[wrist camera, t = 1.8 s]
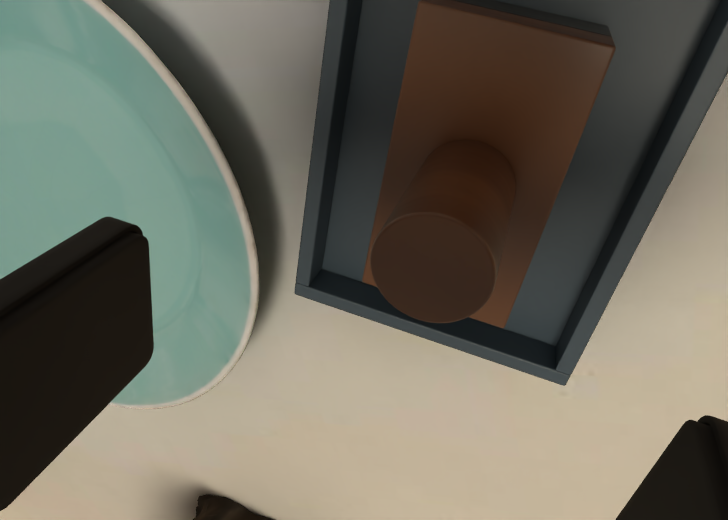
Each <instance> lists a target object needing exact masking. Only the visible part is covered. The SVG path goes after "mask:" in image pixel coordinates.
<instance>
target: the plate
mask: <svg viewBox="0 0 728 520" xmlns="http://www.w3.org/2000/svg"><path fill="white" fill-rule="evenodd" d="M104 217H113V218H116V219H119V220H122V221H125V222H128V223H131V224H134V225H137V226H138V227H140V229H141V230H142V233H143V236H144V237H146V238H147V240H148V243H149V257H150V277H151V298H152V318H153V338H154V350H153V354H152V357H151V359H150V361H149V362H148V364H147V365H146V366H145V367H144V368H143V369H142V371H141V372H140V373H139V374H138V375H137V376H136V377H135V378H134V379H133V380H132V381H131V382H130V383H129V384H128V385H127V386H126V387H125V388H124V389H123V390H122V391H121V392H120V393H119V394H118V395H117V396H116V397H115V398H114V399H113V400H112V401H111V402H110V403H109V404H108V405H112V406H118V407H125V408H134V409H158V408H166V407H170V406H175V405H179V404H183V403H185V402H188V401H191V400H193V399H195V398H197V397H199V396H201V395H203V394H205V393H206V392H208V391H209V390H211V389H212V388H213V387H215V386H216V385H217V384H218V383H219V382H221V381H222V380H223V379H224V378H225V377H226V376H227V374H228V373H229V372H230V371H231V370H232V369H233V367H234V366H235V364H236V363H237V362H238V360H239V359H240V357H241V355H242V354H243V352H244V350H245V348H246V346H247V343H248V341H249V338H250V336H251V333H252V330H253V326H254V323H255V319H256V315H257V310H258V302H259V291H260V286H259V263H258V255H257V248H256V243H255V239H254V234H253V229H252V226H251V222H250V218H249V215H248V211H247V208H246V205H245V202H244V199H243V197H242V194H241V191H240V188H239V186H238V183H237V181H236V179H235V176H234V174H233V172H232V170H231V168H230V165H229V163H228V161H227V159H226V157H225V155H224V153H223V151H222V150H221V148H220V146H219V144H218V142H217V140H216V138H215V137H214V135H213V133H212V132H211V130H210V128H209V127H208V125H207V123H206V122H205V120H204V118H203V117H202V115H201V114H200V112H199V111H198V109H197V108H196V106H195V105H194V103H193V102H192V100H191V99H190V97H189V96H188V95H187V93H186V92H185V90H184V89H183V88H182V86H181V85H180V84H179V82H178V81H177V80H176V78H175V77H174V76H173V75H172V73H171V72H170V71H169V70H168V68H167V67H166V66H165V65H164V63H163V62H162V61H161V60H160V59H159V58H158V56H157V55H156V54H155V53H154V52H153V51H152V49H151V48H150V47H149V46H148V45H147V44H146V43H145V42H144V41H143V40H142V39H141V37H140V36H139V35H138V34H137V33H136V32H135V31H134V30H133V29H132V28H131V27H130V26H129V25H128V24H127V23H126V22H125V21H124V20H123V19H121V18H120V17H119V16H118V15H117V14H116V13H115V12H114V11H113V10H111V9H110V8H109V7H108V6H107V5H106V4H105V3H103V2H102V1H101V0H0V279H2V278H3V277H5V276H6V275H8V274H10V273H11V272H13V271H15V270H16V269H18V268H20V267H21V266H23V265H25V264H26V263H28V262H30V261H31V260H33V259H35V258H36V257H38V256H40V255H41V254H43V253H45V252H46V251H48V250H50V249H51V248H53V247H55V246H56V245H58V244H60V243H61V242H63V241H65V240H66V239H68V238H70V237H71V236H73V235H74V234H76V233H78V232H79V231H81V230H83V229H84V228H86V227H88V226H89V225H91V224H93V223H94V222H96V221H98V220H99V219H101V218H104Z"/></svg>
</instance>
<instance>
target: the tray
mask: <svg viewBox="0 0 728 520" xmlns="http://www.w3.org/2000/svg"><path fill="white" fill-rule="evenodd" d="M419 1H421V0H330V4H329V12H328V20H327V29H326V37H325V45H324V53H323V62H322V70H321V78H320V86H319V95H318V103H317V111H316V119H315V127H314V136H313V144H312V152H311V160H310V169H309V177H308V185H307V193H306V202H305V210H304V218H303V226H302V235H301V243H300V251H299V259H298V268H297V276H296V284H295V294H296V295H299V296H302V297H305V298H308V299H311V300H314V301H317V302H320V303H323V304H326V305H329V306H332V307H334V308H337V309H340V310H343V311H346V312H349V313H352V314H355V315H358V316H361V317H364V318H367V319H370V320H373V321H376V322H378V323H381V324H384V325H387V326H390V327H393V328H396V329H399V330H402V331H405V332H408V333H411V334H414V335H417V336H419V337H422V338H425V339H428V340H431V341H434V342H437V343H440V344H443V345H446V346H449V347H452V348H455V349H458V350H461V351H463V352H466V353H469V354H472V355H475V356H478V357H481V358H484V359H487V360H490V361H493V362H496V363H499V364H502V365H505V366H507V367H510V368H513V369H516V370H519V371H522V372H525V373H528V374H531V375H534V376H537V377H540V378H543V379H546V380H549V381H551V382H554V383H557V384H560V385H563V386H565V385H566V383H567V381H568V379H569V378H570V375H571V374H572V372H573V370H574V368H575V366H576V364H577V362H578V361H579V359H580V357H581V355H582V353H583V351H584V349H585V347H586V345H587V343H588V341H589V339H590V337H591V335H592V333H593V332H594V330H595V328H596V326H597V324H598V322H599V320H600V318H601V316H602V314H603V312H604V310H605V308H606V306H607V304H608V303H609V301H610V299H611V297H612V295H613V293H614V291H615V289H616V287H617V285H618V283H619V281H620V279H621V277H622V275H623V274H624V272H625V270H626V268H627V266H628V264H629V262H630V260H631V258H632V256H633V254H634V252H635V250H636V248H637V246H638V245H639V243H640V241H641V239H642V237H643V235H644V233H645V231H646V229H647V227H648V225H649V223H650V221H651V219H652V218H653V216H654V214H655V212H656V210H657V208H658V206H659V204H660V202H661V200H662V198H663V196H664V194H665V192H666V190H667V189H668V187H669V185H670V183H671V181H672V179H673V177H674V175H675V173H676V171H677V169H678V167H679V165H680V163H681V161H682V160H683V158H684V156H685V154H686V152H687V150H688V148H689V146H690V144H691V142H692V140H693V138H694V136H695V134H696V132H697V131H698V129H699V127H700V125H701V123H702V121H703V119H704V117H705V115H706V113H707V111H708V109H709V107H710V105H711V103H712V102H713V100H714V98H715V96H716V94H717V92H718V90H719V88H720V86H721V84H722V82H723V80H724V78H725V76H726V74H727V73H728V0H495V1H499V2H504V3H508V4H513V5H517V6H522V7H526V8H530V9H535V10H539V11H544V12H548V13H552V14H557V15H561V16H566V17H570V18H575V19H579V20H583V21H588V22H592V23H597V24H601V25H605V26H608V27H609V30H610V32H611V35H612V38H613V41H614V44H615V46H616V50H615V52H614V55H613V57H612V60H611V62H610V65H609V67H608V70H607V72H606V75H605V77H604V80H603V82H602V85H601V87H600V90H599V92H598V95H597V98H596V100H595V103H594V105H593V108H592V110H591V113H590V115H589V118H588V120H587V123H586V125H585V128H584V130H583V133H582V135H581V138H580V140H579V143H578V145H577V148H576V150H575V153H574V155H573V158H572V160H571V163H570V165H569V168H568V170H567V173H566V175H565V178H564V180H563V183H562V185H561V188H560V190H559V193H558V195H557V198H556V200H555V203H554V205H553V208H552V210H551V213H550V215H549V218H548V220H547V223H546V225H545V228H544V230H543V233H542V235H541V238H540V240H539V243H538V245H537V248H536V250H535V253H534V255H533V258H532V260H531V263H530V265H529V268H528V270H527V273H526V275H525V278H524V280H523V283H522V285H521V288H520V290H519V293H518V295H517V298H516V300H515V303H514V305H513V308H512V310H511V313H510V315H509V318H508V320H507V323H506V325H505V327H504V328H500V327H497V326H494V325H491V324H488V323H485V322H482V321H479V320H476V319H473V318H470V317H467V318H465V319H462V320H459V321H456V322H450V323H431V322H425V321H421V320H418V319H415V318H412V317H410V316H408V315H406V314H404V313H402V312H401V311H399V310H398V309H396V308H395V307H394V306H393V305H391V304H390V303H389V302H388V301H387V300H386V299H385V298H384V296H383V295H382V294H381V292H380V291H379V289H378V288H377V287H376V286H373V285H370V284H367V283H364V282H362V278H363V273H364V268H365V263H366V258H367V253H368V248H369V243H370V238H371V233H372V228H373V223H374V218H375V214H376V209H377V204H378V199H379V194H380V189H381V184H382V179H383V174H384V169H385V164H386V159H387V154H388V149H389V144H390V139H391V134H392V129H393V124H394V119H395V114H396V110H397V105H398V100H399V95H400V90H401V85H402V80H403V75H404V70H405V65H406V60H407V55H408V50H409V45H410V40H411V35H412V30H413V25H414V20H415V15H416V10H417V6H418V2H419Z"/></svg>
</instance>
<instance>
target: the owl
mask: <svg viewBox="0 0 728 520" xmlns="http://www.w3.org/2000/svg"><path fill="white" fill-rule="evenodd" d="M193 520H272V519H270V518H266V517H263V516H259V515H256V514H254V513H252V512H250V511H248V510H247V509H245V508H244V507H242V506H241V505H239V504H238V503H236V502H234V501H232V500H229V499H227V498H225V497H219V496H213V495H202V496H199V497H198V506H197V507H196V518H194V519H193Z"/></svg>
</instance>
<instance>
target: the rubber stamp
mask: <svg viewBox="0 0 728 520" xmlns="http://www.w3.org/2000/svg"><path fill="white" fill-rule="evenodd" d="M615 50H616V46H615V44H614V41H613V38H612V35H611V32H610V30H609V27H608V26H605V25H601V24H597V23H592V22H588V21H583V20H579V19H575V18H570V17H566V16H561V15H557V14H552V13H548V12H544V11H539V10H535V9H530V8H526V7H522V6H517V5H513V4H508V3H504V2H499V1H495V0H421V1H419V2H418V6H417V10H416V15H415V20H414V25H413V30H412V35H411V40H410V45H409V50H408V55H407V60H406V65H405V70H404V75H403V80H402V85H401V90H400V95H399V100H398V105H397V110H396V114H395V119H394V124H393V129H392V134H391V139H390V144H389V149H388V154H387V159H386V164H385V169H384V174H383V179H382V184H381V189H380V194H379V199H378V204H377V209H376V214H375V218H374V223H373V228H372V233H371V238H370V243H369V248H368V253H367V258H366V263H365V268H364V273H363V278H362V282H364V283H367V284H370V285H373V286H376V287H377V288H378V289H379V291H380V292H381V294H382V295H383V296H384V298H385V299H386V300H387V301H388V302H389V303H390V304H391V305H393V306H394V307H395V308H396V309H398V310H399V311H401V312H402V313H404V314H406V315H408V316H410V317H412V318H415V319H418V320H421V321H425V322H431V323H450V322H456V321H459V320H462V319H465V318H467V317H470V318H473V319H476V320H479V321H482V322H485V323H488V324H491V325H494V326H497V327H500V328H504V327H505V325H506V323H507V320H508V318H509V315H510V313H511V310H512V308H513V305H514V303H515V300H516V298H517V295H518V293H519V290H520V288H521V285H522V283H523V280H524V278H525V275H526V273H527V270H528V268H529V265H530V263H531V260H532V258H533V255H534V253H535V250H536V248H537V245H538V243H539V240H540V238H541V235H542V233H543V230H544V228H545V225H546V223H547V220H548V218H549V215H550V213H551V210H552V208H553V205H554V203H555V200H556V198H557V195H558V193H559V190H560V188H561V185H562V183H563V180H564V178H565V175H566V173H567V170H568V168H569V165H570V163H571V160H572V158H573V155H574V153H575V150H576V148H577V145H578V143H579V140H580V138H581V135H582V133H583V130H584V128H585V125H586V123H587V120H588V118H589V115H590V113H591V110H592V108H593V105H594V103H595V100H596V98H597V95H598V92H599V90H600V87H601V85H602V82H603V80H604V77H605V75H606V72H607V70H608V67H609V65H610V62H611V60H612V57H613V55H614V52H615Z"/></svg>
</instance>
